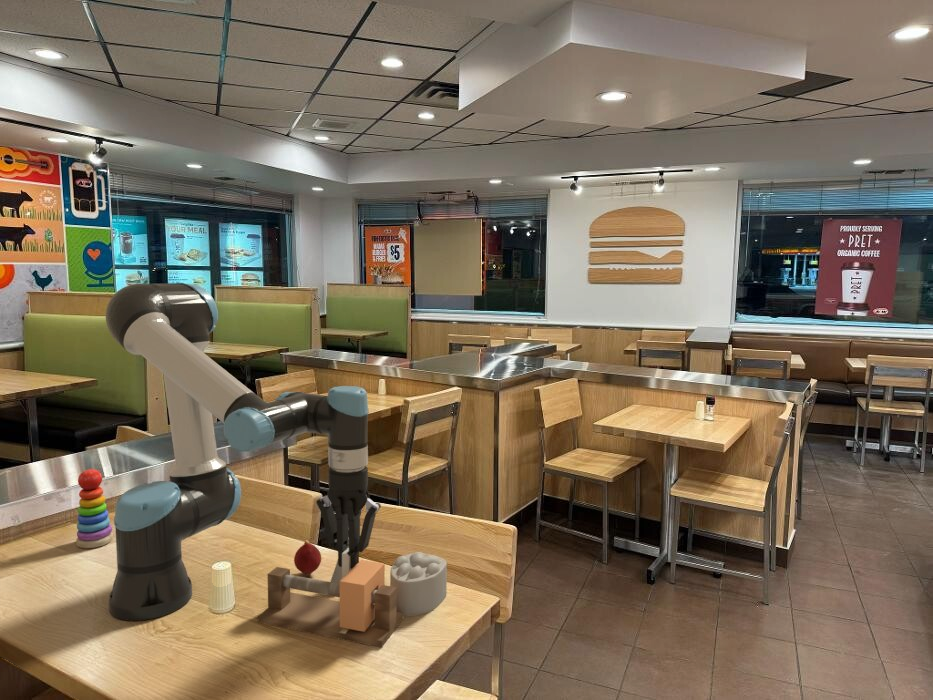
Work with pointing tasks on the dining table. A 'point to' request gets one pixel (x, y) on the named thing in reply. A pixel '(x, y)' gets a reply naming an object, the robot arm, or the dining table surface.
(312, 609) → the pipe stand
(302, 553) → the onion
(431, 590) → the lumpy-topped squat cylinder
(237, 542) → the dining table surface
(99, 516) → the stacking toy
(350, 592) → the collar
